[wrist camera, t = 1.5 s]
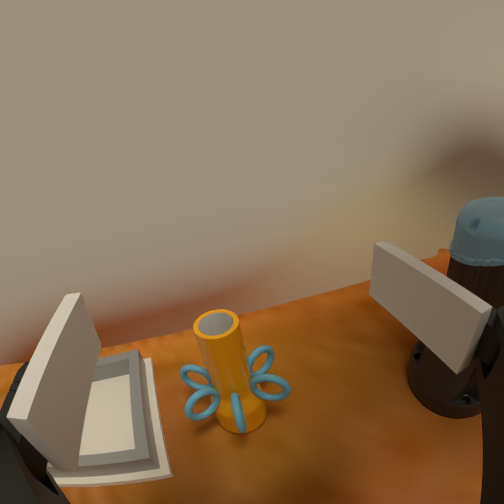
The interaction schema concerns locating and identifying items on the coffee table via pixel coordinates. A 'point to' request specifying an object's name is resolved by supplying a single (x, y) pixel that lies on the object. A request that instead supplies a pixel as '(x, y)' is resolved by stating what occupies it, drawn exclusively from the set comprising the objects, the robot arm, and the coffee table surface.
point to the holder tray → (120, 427)
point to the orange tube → (230, 375)
